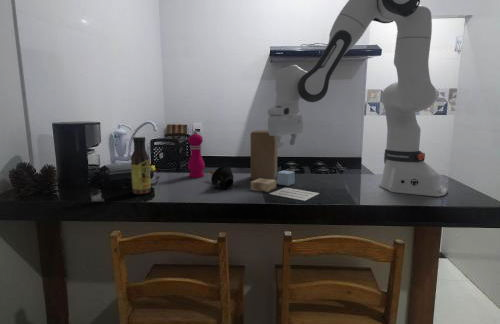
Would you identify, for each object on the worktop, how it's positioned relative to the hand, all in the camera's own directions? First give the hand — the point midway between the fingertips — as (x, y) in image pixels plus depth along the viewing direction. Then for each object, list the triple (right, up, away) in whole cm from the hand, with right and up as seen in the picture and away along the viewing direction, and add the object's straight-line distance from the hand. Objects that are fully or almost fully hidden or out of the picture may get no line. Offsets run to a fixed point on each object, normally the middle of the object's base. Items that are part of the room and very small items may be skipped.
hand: (286, 146), depth 130 cm
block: (-8, -13, +14) cm, 20 cm away
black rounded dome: (-25, -15, +2) cm, 30 cm away
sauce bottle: (-52, -17, -9) cm, 56 cm away
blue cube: (0, -15, +3) cm, 15 cm away
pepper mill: (-37, -12, +18) cm, 43 cm away
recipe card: (+2, -17, -12) cm, 21 cm away
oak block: (-9, -17, -5) cm, 19 cm away
